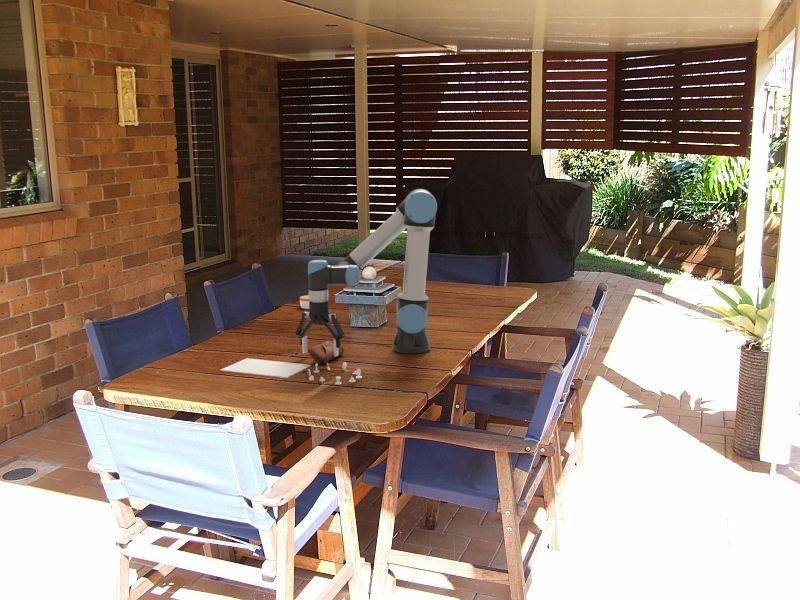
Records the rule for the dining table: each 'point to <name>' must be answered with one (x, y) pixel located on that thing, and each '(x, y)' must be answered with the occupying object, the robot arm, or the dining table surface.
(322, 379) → the game piece set
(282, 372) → the rubber mat
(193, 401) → the dining table surface
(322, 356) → the sunglasses case
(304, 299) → the lidded jar
